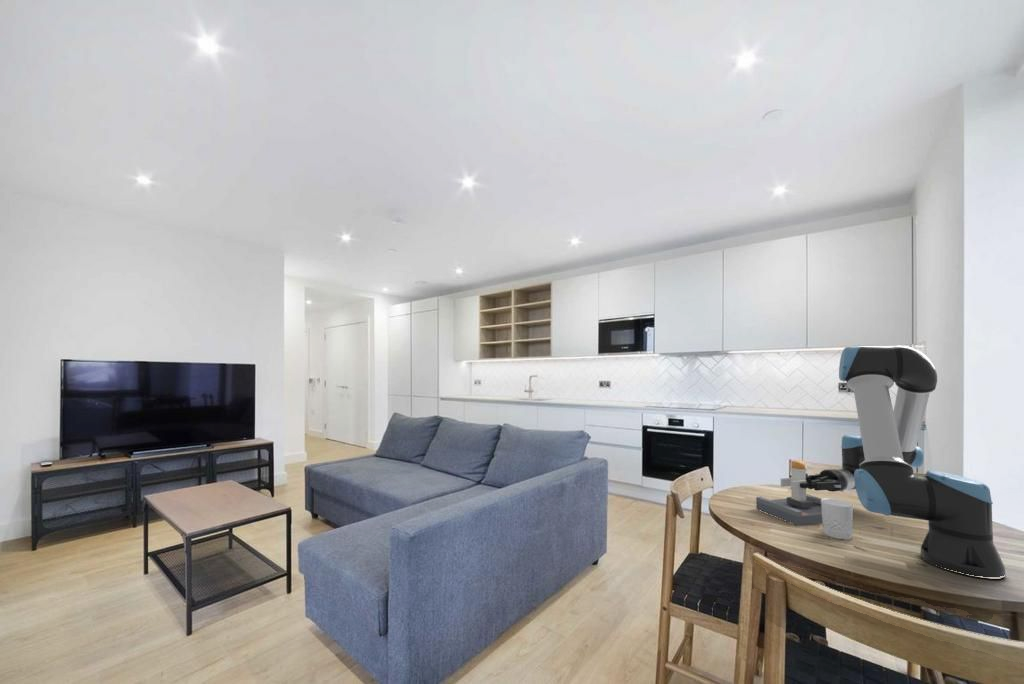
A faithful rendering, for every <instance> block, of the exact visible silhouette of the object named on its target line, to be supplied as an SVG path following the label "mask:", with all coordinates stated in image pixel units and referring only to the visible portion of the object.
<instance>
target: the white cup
mask: <svg viewBox="0 0 1024 684" xmlns="http://www.w3.org/2000/svg"><path fill="white" fill-rule="evenodd" d="M820 499H821V510H822V521H823V523H822V527H823V534H824V535H826V536H828V537H830V538H833V539H836V540H842V539H843V540H845V541H849V540H851V539H852V529H853V523H854V522H853V521H854V520H853V518H854V517H853V515H854V511H853V510H854V505H853V504H852V503H850V502H848V501H845V500H840V499H837V498H835V499H834V498H820Z"/></svg>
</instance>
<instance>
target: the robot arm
mask: <svg viewBox="0 0 1024 684" xmlns="http://www.w3.org/2000/svg"><path fill="white" fill-rule="evenodd" d="M839 359H840V360H839V367H838V377H839V378H838V379H839V380H840V381H841V382H845V383H846V387H847V388H848V389H849V390H851V391H853V394H854V401H855V406H856V407H855V408H856V413H857V418H858V424H859V425H858V426H859V432H860V435H856V434H855V435H853V434H845V435H843V436H842V437H841V446H840V448H841V461H842V462H841V463H842V464H841V467H842V468H833V469H824V470H822V471H820V472H819V473H817V474H808V473H806V480H800V481H791V474H790V475H789V477H785V478H783V477H781V478H780V487H782V488H783V487H786V488H787V487H790V490H797V489H806V490H807V489H809V490H812V489H813V490H814V491H828V492H842V493H844V491H853V490H854V491H855V490H856V491H855V492H856V494H857V498H858V500H859V502H860V504H861V506H862V507H863V508H864V509H865V510H867V511H868V512H870V513H875V514H880V515H884V516H891V517H892V516H893V517H901V518H907V519H913V520H920V521H927V522H928V529H927V532H926V535H925V537H924V539H923V541H922V543H921V546H920V557H921V558H922V560H924V559H925V560H926V561H925V560H924V561H925V562H927V561H928V562H927V563H929V562H930V563H932V564H931V565H933V564H934V565H933V566H935V565H937V566H939V567H938V568H940V567H942V568H946V569H949V570H953V571H957V572H961V573H964V574H969V575H974V576H983V577H1000V576H1004V575H1005V576H1006V568H1005V567H1006V566H1005V565H1004V563H1003V560H1002V558H1001V556H1000V554H999V551H998V550H997V548H996V546H995V543H994V532H993V528H994V527H993V507H992V505H993V501H992V495H991V488H990V487H989V486H988V485H987V484H986V483H984V482H982V481H980V480H976V479H973V478H971V477H965V476H962V475H958V474H954V473H949V472H944V471H939V470H938V471H937V470H927V471H926V472H925V475H919V474H918V475H916V474H915V473H914V468H921V467H922V466H923V464H924V453H923V450H922V448H921V447H920V446H918V442H919V438H920V434H921V429H922V426H923V422H924V417H925V414H926V409H927V405H928V402H929V397H930V393H933V392H934V391H935V390H936V388H937V383H938V374H937V370H936V368H935V366H934V364H933V362H932V361H931V359H929V358H928V356H927V355H926V354H924V353H923V352H921V351H920V350H918V349H915V348H913V347H909V346H906V345H905V346H904V345H903V346H902V345H895V346H894V345H891V346H890V345H887V346H885V345H884V346H882V345H881V346H873V345H871V346H861V345H857V346H847V347H844V348H843V350H842V352H841V355H840V358H839ZM894 384H895V386H896V387H897V392H896V396H895V402H894V407H893V404H892V399H891V394H890V389H891V388H892V387H893V386H894ZM930 563H929V564H930ZM937 566H936V567H937ZM942 568H941V569H942Z"/></svg>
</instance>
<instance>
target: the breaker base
mask: <svg viewBox="0 0 1024 684" xmlns="http://www.w3.org/2000/svg"><path fill="white" fill-rule="evenodd" d="M755 497H756V500H755V501H756V502H755V505H756V510H757V509H758V510H757V511H759V510H761V511H763V512H762V513H764V512H766V513H768V514H767V515H769V514H771V515H773V516H772V517H774V516H776V517H778V518H777V519H779V518H781V519H783V520H782V521H784V520H786V521H788V522H787V523H789V522H791V523H793V524H792V525H794V524H795V526H796V525H797V527H799V526H798V525H802V526H808V525H809V526H810V525H818V524H819V525H820V524H823V521H822V510H821V499H822V498H820V497H817V496H814V495H811V494H807V493H806V500H807V501H810V502H811V505H812V508H804V509H802V508H799V507H797V506H794V505H791V504H788V503H787V498H777V499H776V498H774V499H769V498H766V497H763V496H755ZM761 511H760V512H761ZM766 513H765V514H766ZM771 515H770V516H771ZM776 517H775V518H776ZM781 519H780V520H781ZM786 521H785V522H786ZM791 523H790V524H791Z"/></svg>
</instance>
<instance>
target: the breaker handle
mask: <svg viewBox="0 0 1024 684" xmlns="http://www.w3.org/2000/svg"><path fill="white" fill-rule="evenodd" d="M790 464H791V465H790V466H791V467H790V475H791V481H800V480H806V472H807V471H806V462H804V461H800V460H791V462H790ZM790 490H791V489H790ZM806 494H807V489H797V490H791V496H789V497H786V499H787V503H788V504H791V505H794V506H797V507H799V508H802V509H804V508H812V505H811V502H810V501H807V500H806Z"/></svg>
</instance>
